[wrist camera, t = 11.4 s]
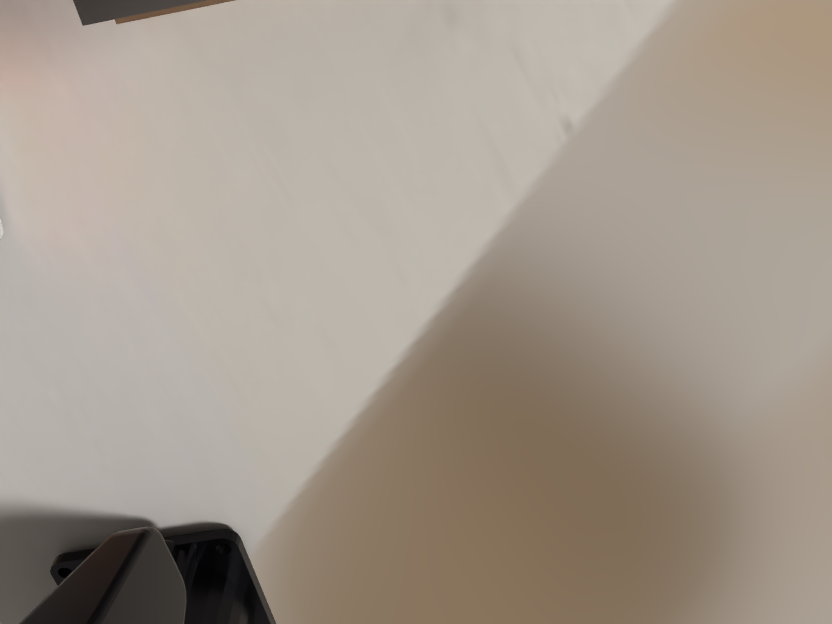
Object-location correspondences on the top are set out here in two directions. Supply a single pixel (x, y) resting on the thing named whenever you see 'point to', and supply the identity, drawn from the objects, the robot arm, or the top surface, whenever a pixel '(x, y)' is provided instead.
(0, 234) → the skincare box
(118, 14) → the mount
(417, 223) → the top surface
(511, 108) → the top surface
